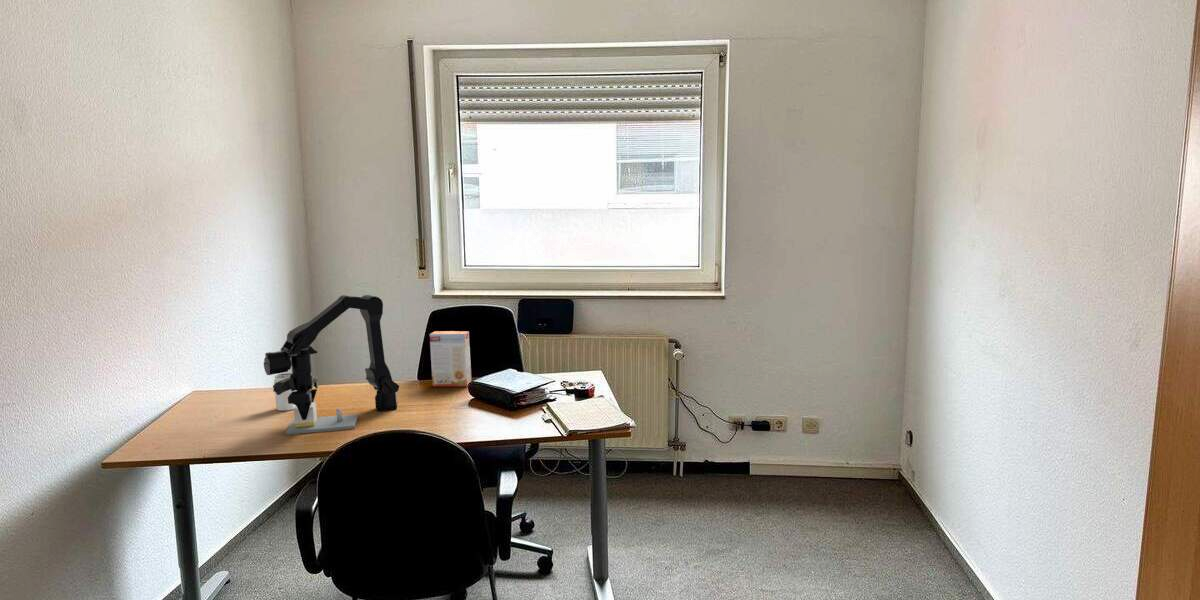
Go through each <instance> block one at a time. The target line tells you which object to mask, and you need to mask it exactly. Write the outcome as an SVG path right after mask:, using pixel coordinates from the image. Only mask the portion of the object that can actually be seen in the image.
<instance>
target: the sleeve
mask: <svg viewBox="0 0 1200 600" xmlns="http://www.w3.org/2000/svg"><path fill="white" fill-rule="evenodd" d="M293 417H294V420H295V427H304V426H314V425H315V423H316V421H317V418H318V414H317V405H316V401H313V402H311V405H310V409H309V412H308V415H307V419H306V420H302V418H301V415H300V413H299V410H298V408H297V406H295V408H294V409H293Z"/></svg>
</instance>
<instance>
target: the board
mask: <svg viewBox="0 0 1200 600" xmlns="http://www.w3.org/2000/svg"><path fill="white" fill-rule="evenodd" d="M342 409H343V408H342V407H341V408H339V407H338V408H336V415H331V416H330V415H329V416H321V417H318V416H317V421H316V423H315V425H314V426H304V427H295V419H292V421H291V423H290V424H289V426H288V427H287V430H286V431H285V436H290V435H289V434H293V435H301V434H300V433H303V434H311V432H313V433H322V432H331V431H332V432H333V431H341V430H342V431H343V430H352V429H353V430H354V429H356V425H357V421H358V419H359V413H352V414H343V410H342Z"/></svg>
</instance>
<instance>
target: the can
mask: <svg viewBox="0 0 1200 600" xmlns="http://www.w3.org/2000/svg"><path fill="white" fill-rule="evenodd" d="M291 374H292V372H291V373H289V372H283V373H278V374H275V376H274V379H273V385H274V384H275V383H276V382H279V381H281V380H284V379H286V378H289V377H290V375H291ZM295 391H297V390H295ZM292 392H293V391H291V389H290V390H288V391H285V392H283V393H281V394H280V395H277V394H276V392H274V396H275V398H274V399H275V405H276V406H275V407H276V410H277V411H279V412H289V411H292V410H293V411H294V408H295V406H296V405H294V404H289V403H288V396H289V395H290V394H291V393H292Z"/></svg>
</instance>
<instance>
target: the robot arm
mask: <svg viewBox="0 0 1200 600" xmlns="http://www.w3.org/2000/svg"><path fill="white" fill-rule="evenodd" d="M349 309H356V310H359V312H360V314H361V316H362V318H363V320H364V323H365V328H366V336H367V345H368V351H369V360H370V363H369V367H368V368H367V367H366V368H364V371H365V374H366V377H365V380H366V381H367V382H368V383H369V385H371V386H372V387H373V389H374V390H375V391H376V394H375V396H374V400H375V401H374V403H375V408H376V412H381V411H382V412H383V411H384V412H385V411H392V410H393V411H394V410H398V409H397V408H398V400H397V393H398V392H399V389H400V385H399V384H398V383H397V382H395V381H394V380H393V378H392V377H393V376H392V374H391V371H390V369H389V366H388V365H387V363H386V361H385V352H384V344H383V336H382V328H381V319H382V316H383V313H384V303H383V299H381V298H380V297H378V296H374V295H370V294H365V295H362V296H353V295H351V296H350V295H341V296H339V297H338V298H337V299H336V300H334V302H332V303H331V304H330V305H328V306H327V307H326V308H324V310H322V311H321V312H320V313H318V314H317V315H316V316H314V317H313V318H311V320H310V321H308V322H305V323H303V324H301V325H298V326H296V327H294V328H293V329H291V330H290V331H289V332H287V334H286V340H285V342H284V343H283V345H282V346H281V348H280V350H279V351H273V352H265V353H264V354H265V355H264V356H265V357H264V360H263V368H264V372H265V374H266V375H267V376H271V375H278V374H284V373H289V371H290V370H291V375H290V377H289V378H286V379H284V380H281V381H279V382H276V383H275V384H274V383H273V385H272V389H273V392H274V393H275V392H276V394H277V395H280V394H281V393H283V392H285V391H288V390H290V389H291V391H293V392H292V393H291V394H290V395H289V396H288V403H289V404H294V405H296V406H297V408H298V410H299V413H300V415H301V418H302V420H306V419H307V415H308V412H309V409H310V405H311V402H315V401H314V400H315V397H316V395H317V392H318V388H319V380H318V379H317V378H315V377H313V374H314V369H313V368H312V367H313V366H312V357H311V356H312V355H314V354H318V351H317V350H316V349H314V348H313V347H312V346H311V345H312V344H313V343H314V341H315V340H316V339H317V337H318V335H319V334H320V332H322V331H323V330H324V329H325V328H326V327H328V326H329V325H330V324H331V323H333V322H334V321H335V320H336V319H338V318H339V317H340V316H342V314H344V313H346V312H347V311H348V310H349ZM313 388H314V389H313ZM295 390H296V391H295Z"/></svg>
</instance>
